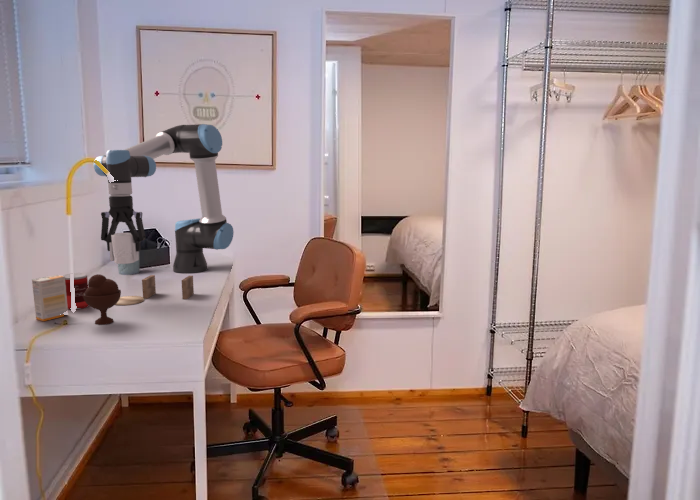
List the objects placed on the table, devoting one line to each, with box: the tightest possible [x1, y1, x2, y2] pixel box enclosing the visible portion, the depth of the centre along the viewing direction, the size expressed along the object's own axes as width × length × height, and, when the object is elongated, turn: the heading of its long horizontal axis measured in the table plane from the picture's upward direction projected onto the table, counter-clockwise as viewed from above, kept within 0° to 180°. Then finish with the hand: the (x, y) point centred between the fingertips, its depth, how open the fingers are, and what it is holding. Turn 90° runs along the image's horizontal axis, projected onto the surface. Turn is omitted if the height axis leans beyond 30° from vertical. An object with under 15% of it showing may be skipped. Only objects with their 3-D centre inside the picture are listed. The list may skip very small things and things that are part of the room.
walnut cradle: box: [141, 274, 195, 300], centre depth 202 cm, size 8×16×7 cm, turn 87°
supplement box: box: [31, 274, 69, 322], centre depth 175 cm, size 8×5×13 cm, turn 145°
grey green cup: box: [117, 250, 141, 276], centre depth 243 cm, size 10×10×12 cm
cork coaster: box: [114, 295, 145, 306], centre depth 196 cm, size 11×11×1 cm
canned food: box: [62, 272, 90, 310], centre depth 187 cm, size 8×8×11 cm
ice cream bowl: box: [83, 273, 122, 326], centre depth 170 cm, size 11×11×15 cm
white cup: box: [111, 232, 135, 265], centre depth 193 cm, size 8×8×10 cm
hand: (124, 260), depth 193 cm, fingers closed on white cup, 7 cm apart
